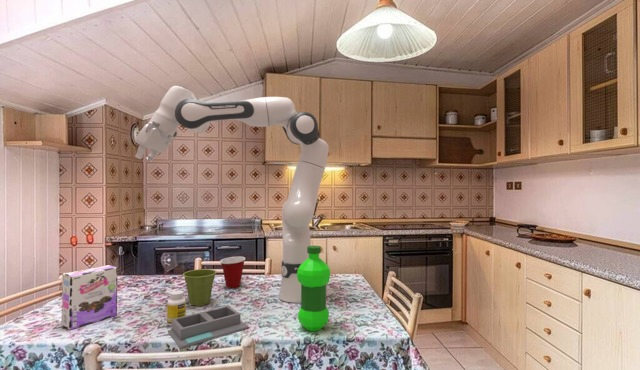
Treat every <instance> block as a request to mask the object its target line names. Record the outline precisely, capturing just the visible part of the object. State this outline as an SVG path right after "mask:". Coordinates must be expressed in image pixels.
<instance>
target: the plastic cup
mask: <svg viewBox="0 0 640 370" xmlns="http://www.w3.org/2000/svg"><path fill="white" fill-rule="evenodd" d="M245 260H246V257H244V256H230V257H225V258H221V259H220V260H219V263H220V264H221V267H222V272H223V278H224V281H225V286H226V288H227V289H236V288H240V286H241V283H242V277H243V270H244V264H245Z"/></svg>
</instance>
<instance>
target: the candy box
mask: <svg viewBox="0 0 640 370" xmlns="http://www.w3.org/2000/svg"><path fill="white" fill-rule="evenodd" d="M61 282H62V284H61V286H62V289H61V292H62V293H61V294H62V295H61V326H62V327H64V328H66V330H73V329H78V328H81V327H83V326H87V325H90V324H94V323H97V322H100V321H103V320H106V319H108V318H113V317H115V316H117V315H118V267H117V266H113V265H109V264H108V265H107V264H106V265H103V266H98V267H92V268H87V269H83V270H77V271H72V272H71V271H70V272H64V273H62V281H61Z"/></svg>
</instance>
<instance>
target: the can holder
mask: <svg viewBox="0 0 640 370" xmlns="http://www.w3.org/2000/svg"><path fill="white" fill-rule="evenodd" d="M170 327H171V329H167V333H168V334H169V336H170V337H171V338H172V339H173V341H174V342H175V344H176V345H177V346H178V347H179V348H180V349H184V348H187V347H191V346H194V345H198V344H200V343H201V344H202V343H204V342H208V341H211V340H214V339H218V338H220V337H224V336H227V335H228V336H229V335H230V334H234V333H237V332H240V331H245V330H246V329H247V330H249V327H250V326H249V325H248V324H246V323H244V322H243V321H242V320H241V313H240V312H238V311H237V310H235V309H234V308H232V307H231V306H230V305H226V306H221V307H217V308H212V309H209V310H204V311H200V312H196V313H193V314H189V315H185V316H183V317H179V318H175V319H171V326H170Z"/></svg>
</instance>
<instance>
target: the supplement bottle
mask: <svg viewBox="0 0 640 370" xmlns="http://www.w3.org/2000/svg"><path fill="white" fill-rule="evenodd" d="M184 294H185V293H184V290H180V289H179V290H172V291H170V292H169V297H170V298H169V299H168V300H167V305H166V309H167V310H166V324H167V325H168V326H169V327H171V319H175V318H179V317H183V316H187V315H186V310H187V308H186V307H187V306H186V305H187V304H186V303H187V301H186V298H185V297H184V296H185V295H184Z"/></svg>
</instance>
